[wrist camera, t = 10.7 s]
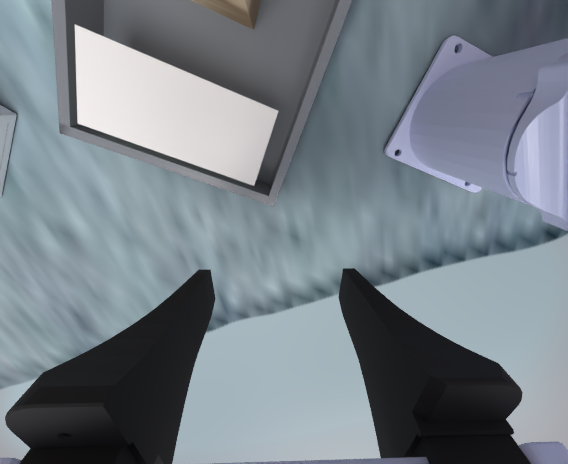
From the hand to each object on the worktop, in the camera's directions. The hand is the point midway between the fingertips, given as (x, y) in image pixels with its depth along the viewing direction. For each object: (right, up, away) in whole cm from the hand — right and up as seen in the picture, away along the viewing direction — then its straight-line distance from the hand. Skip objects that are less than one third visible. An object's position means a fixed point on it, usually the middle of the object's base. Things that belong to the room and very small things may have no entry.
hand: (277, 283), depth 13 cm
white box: (-6, +11, +4) cm, 13 cm away
